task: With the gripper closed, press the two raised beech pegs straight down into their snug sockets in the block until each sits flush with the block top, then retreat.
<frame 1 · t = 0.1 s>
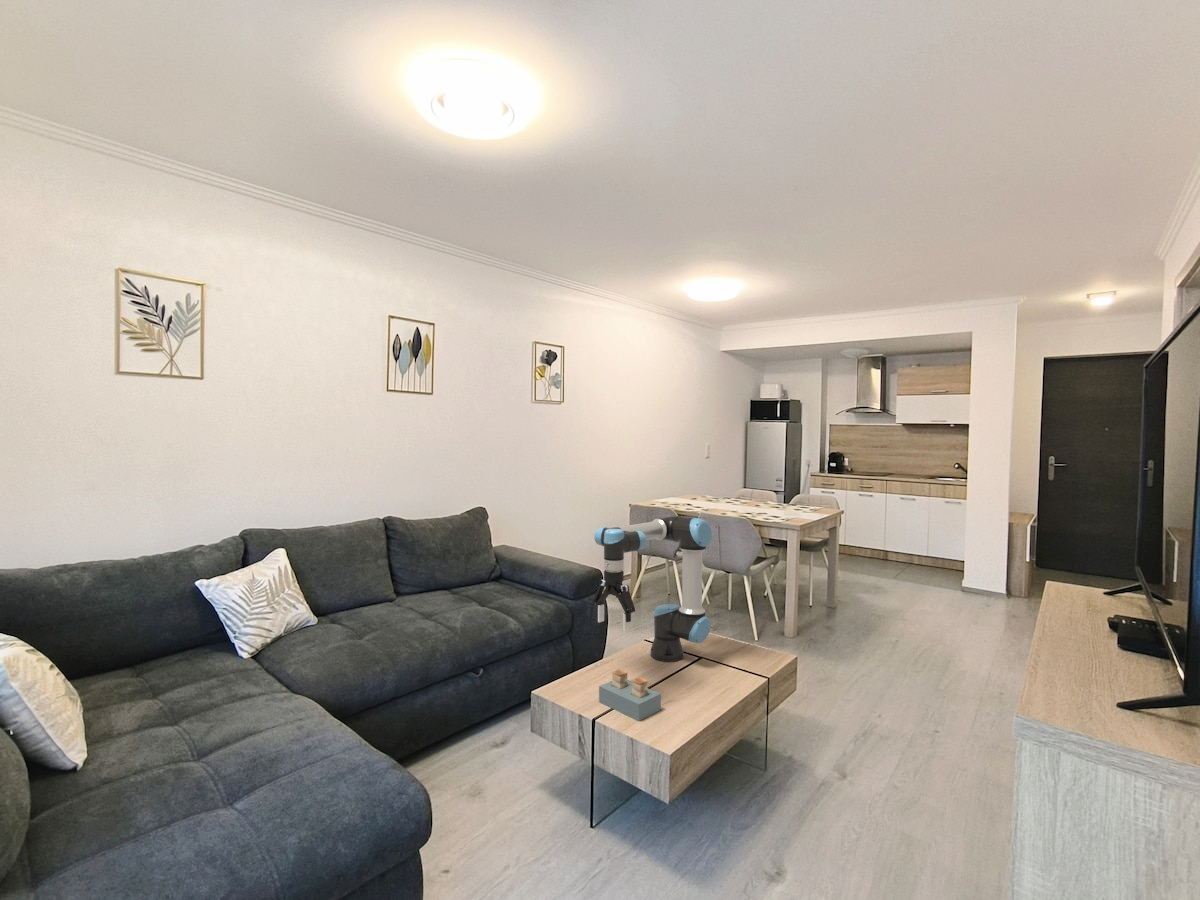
hand: (613, 625, 213), 28 cm above the table, fingers open, 13 cm apart
peg b: (639, 688, 203), point 8 cm above the table, slide at 0.0 cm
peg a: (619, 680, 211), point 8 cm above the table, slide at 0.0 cm
socket block: (629, 705, 207), on the table
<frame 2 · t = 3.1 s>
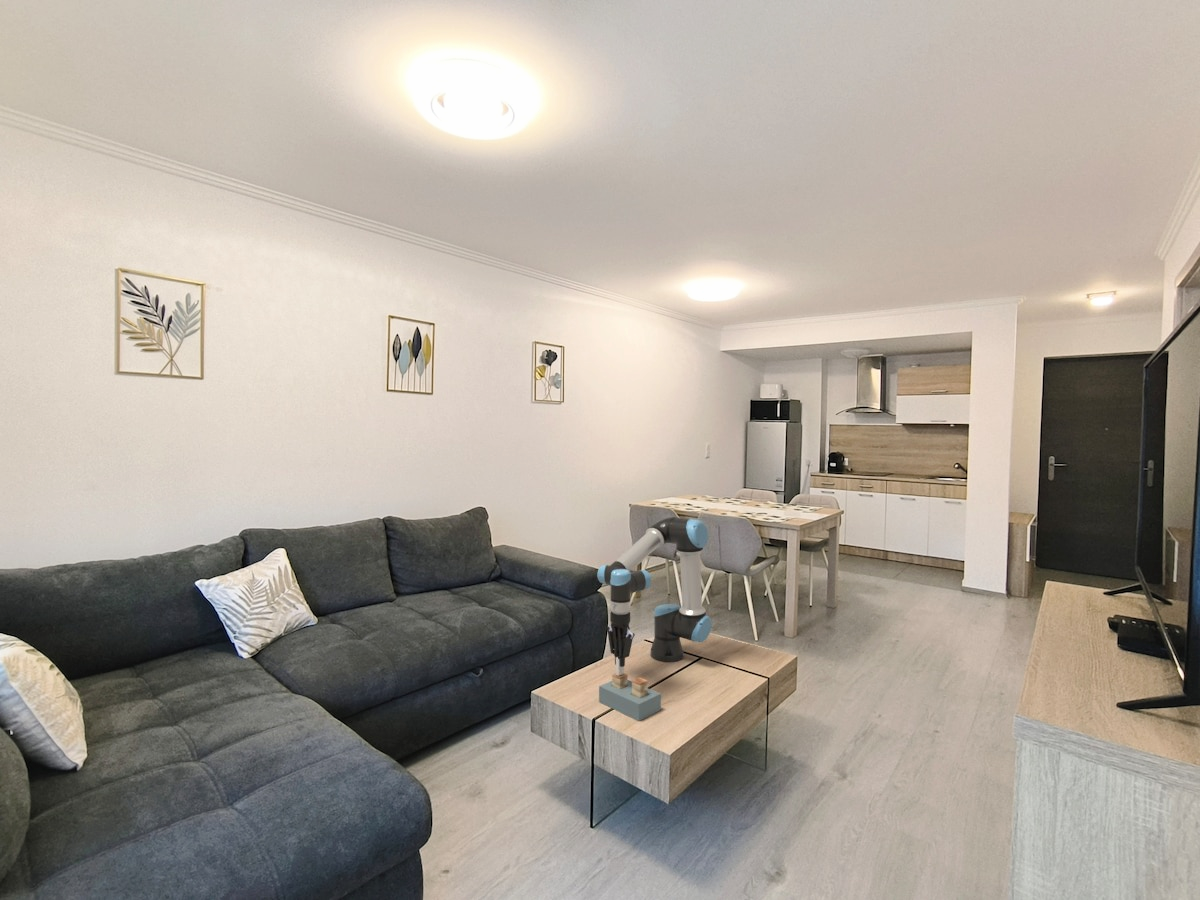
hand: (619, 674, 210), 10 cm above the table, fingers closed
peg a: (619, 682, 211), point 7 cm above the table, slide at 1.0 cm, touching gripper
everything else where it was.
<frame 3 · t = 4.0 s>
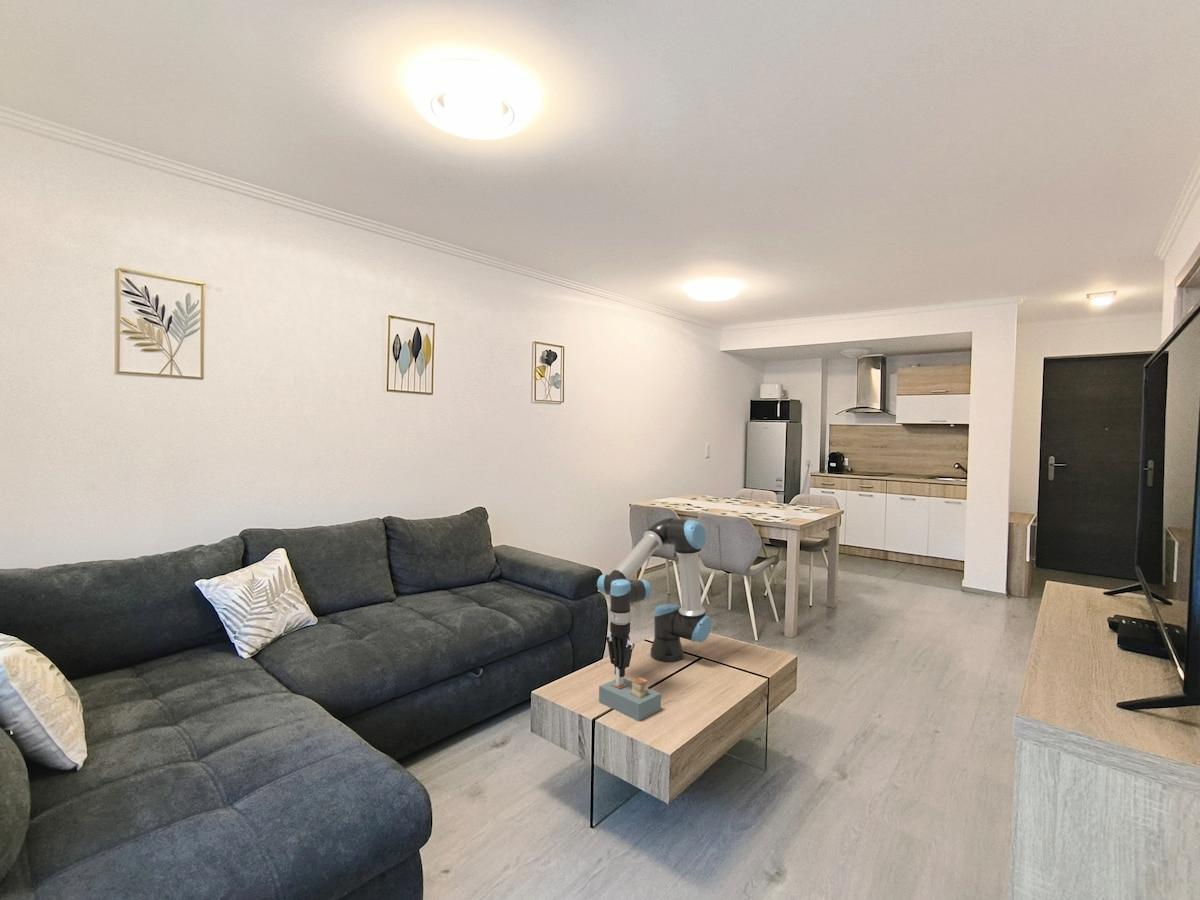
hand: (619, 684, 211), 7 cm above the table, fingers closed
peg a: (619, 692, 211), point 3 cm above the table, slide at 4.8 cm, touching gripper
everything else where it was.
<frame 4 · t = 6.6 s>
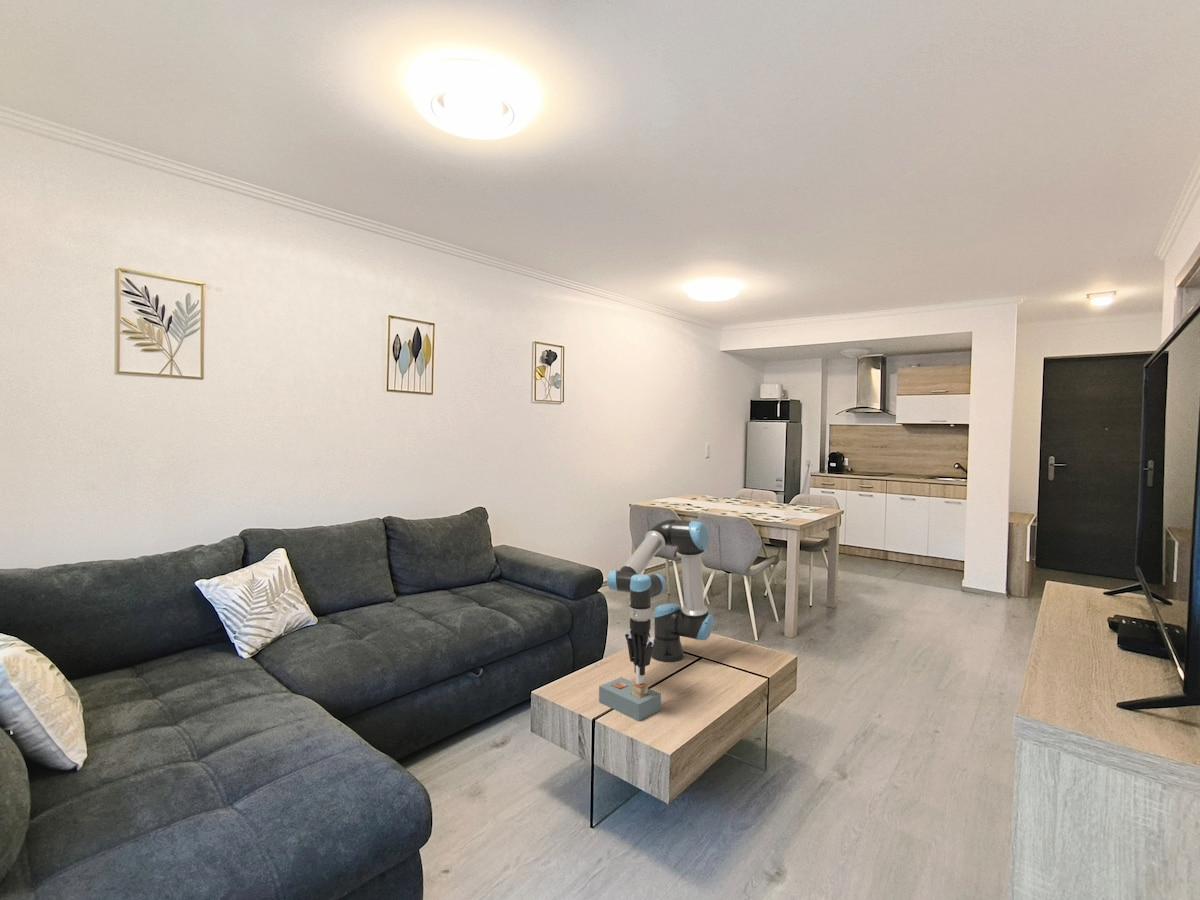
hand: (639, 683, 203), 10 cm above the table, fingers closed
peg b: (639, 691, 203), point 7 cm above the table, slide at 1.2 cm, touching gripper
peg a: (619, 693, 211), point 3 cm above the table, slide at 4.8 cm
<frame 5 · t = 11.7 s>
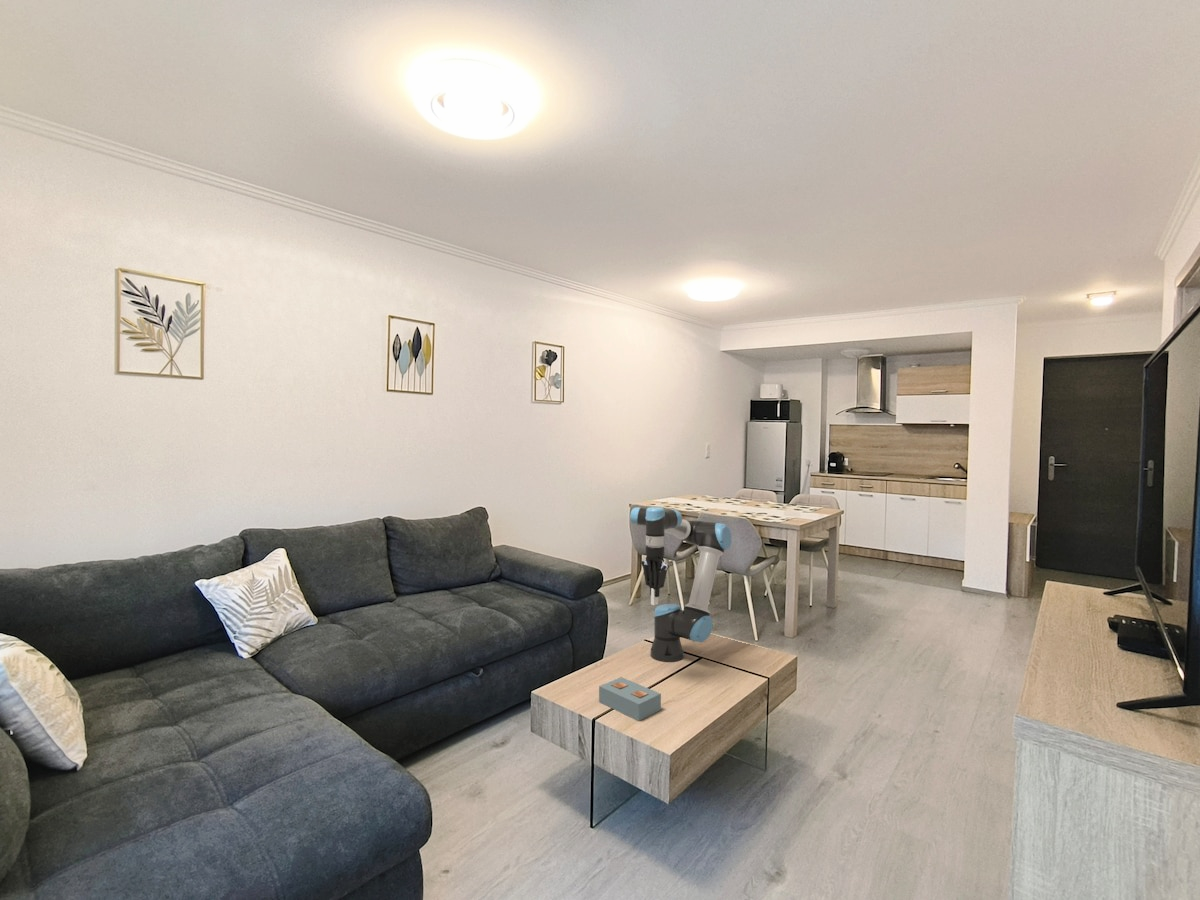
hand: (654, 604, 226), 32 cm above the table, fingers closed
peg b: (639, 701, 204), point 3 cm above the table, slide at 4.8 cm
everything else where it was.
at the end: peg a slide at 4.8 cm; peg b slide at 4.8 cm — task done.
